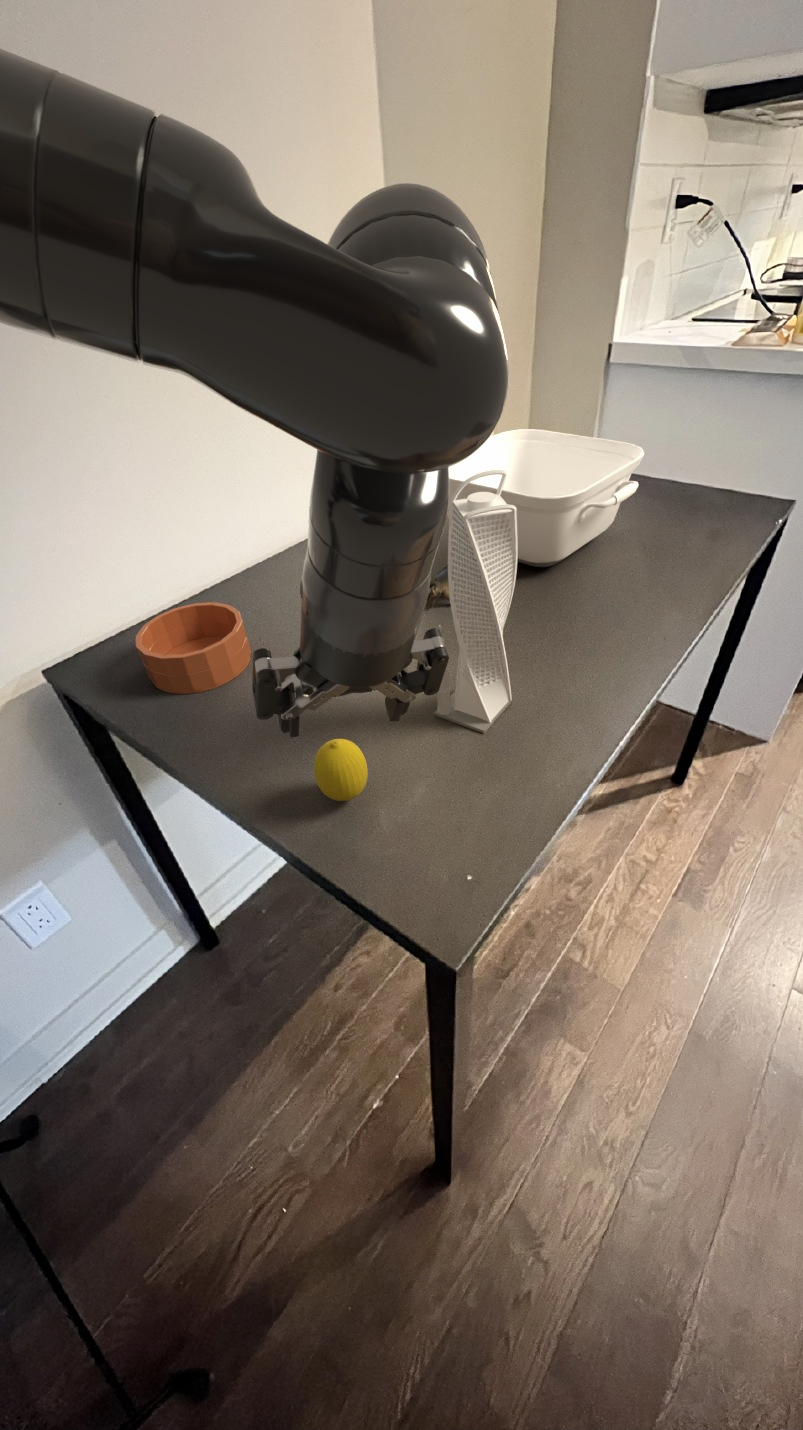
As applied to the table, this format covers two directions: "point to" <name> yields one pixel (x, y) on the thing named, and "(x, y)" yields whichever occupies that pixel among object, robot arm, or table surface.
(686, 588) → the table surface
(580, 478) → the white tub with handles
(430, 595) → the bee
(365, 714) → the table surface
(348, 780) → the lemon
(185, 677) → the bowl
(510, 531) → the white tall perforated tower
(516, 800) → the table surface
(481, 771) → the table surface
